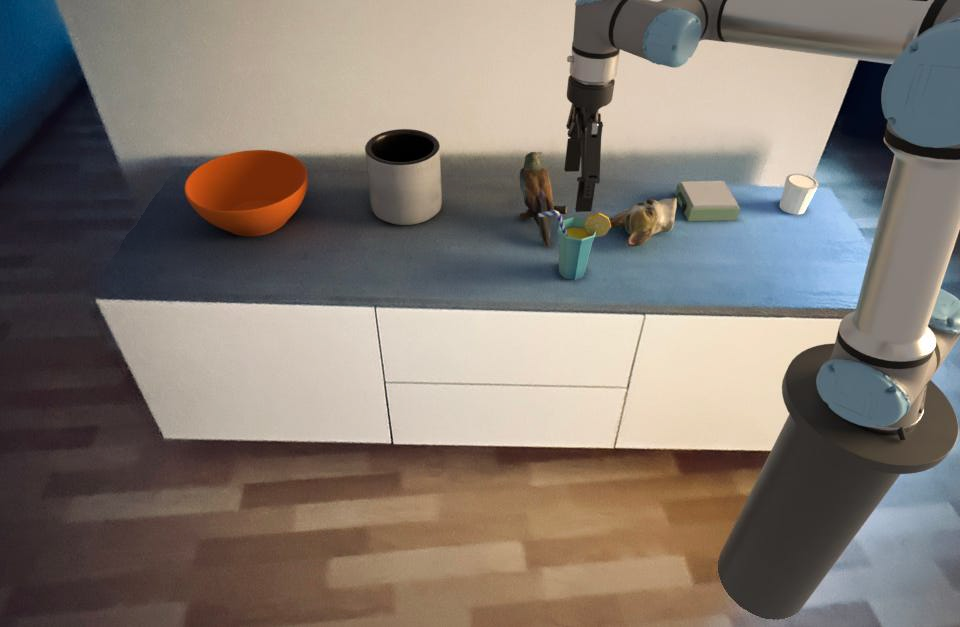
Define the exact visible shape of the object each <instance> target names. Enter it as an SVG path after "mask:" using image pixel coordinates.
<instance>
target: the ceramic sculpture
mask: <svg viewBox="0 0 960 627" xmlns="http://www.w3.org/2000/svg"><path fill="white" fill-rule="evenodd" d="M677 204H678V202H677V197H673V198H663V199H660V200H658V201H657V200H655V199H652V198H649V199H646V200H645V201H644V202H638V203H636V204H634V205H631V206H630V207H629V208H628V209H627V210H623V211H621V212H618V213H616V214H615V215H614V216H612V217H611V218H609V221H610V224H611V228H613V229H614V228H615V229H620V228H625V230H626V232H627V233H628V234H629V236H628V238H627V242H626V244H625V246H626V247H639V246H642V245H644V244H645V243H646V242H648V240H649V239H650V238H651V237H652V236H653V235H655V234H657V233H659V232H663V233H669V232H670V231H672V229H673V228H674V226H675V218H676V211H677Z"/></svg>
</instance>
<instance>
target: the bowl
mask: <svg viewBox="0 0 960 627" xmlns="http://www.w3.org/2000/svg"><path fill="white" fill-rule="evenodd" d="M308 186H309V173H308V169H307V167H306V165H305V164H304V163H303V162H302V161H301V160H300V159H298V158H297V157H295V156H293V155H291V154H289V153H285V152H283V151H282V152H281V151H277V150H269V149H252V150H250V149H249V150H242V151H236V152H231V153H227V154H223V155H220V156H217V157H215V158H213V159H211V160H209V161H207V162H204V163H202V164H201V165H199V166H198V167H196V168H195V169H194V170H193V171H192V172H191V173H190V174H189V176H188V177H187V179H186V180H185V184H184V195H185V197H186V199H187V201H188V203H189V204H190V206H191V207H192V209H193V210H194V211H195V212H196V213H197V214H198V216H201V217H202V218H203V220H206V221H207V222H208V223H210V224H211V225H213V226H214V227H215V226H216V227H217V228H219V229H221V230H224V231H226V232H230V233H231V234H233V235H235V236H236V235H237V236H240V237H258V236H259V237H260V236H264V235H268V234H271V233H273V232H276V231H278V230H279V229H281V227H283V226H284V225H285V224H286V223H287V222H288V220H290V219H291V217H292V216H293V215H294V214H295V213H296V212H297V210H298V209H299V208H300V206H301V204H302V203H303V200H304V199H305V196H306V193H307V190H308Z"/></svg>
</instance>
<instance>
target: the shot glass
mask: <svg viewBox="0 0 960 627" xmlns="http://www.w3.org/2000/svg"><path fill="white" fill-rule="evenodd" d="M818 187H819V182H818V180H816V179H815V178H814V177H812V176H810V175H808V174H803V173H791V174H788V175H787V176H786V178H785V181H784V186H783V190H782V193H781V197H780V202H779V208H780V209H781V210H782V211H783V212H785V213H786V214H790V215H802V214H805V212H806V210H807V208H808V206H809V204H810V203H811V201H812V199H813V197H814V195H815V193H816V192H817V189H818Z"/></svg>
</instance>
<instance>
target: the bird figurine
mask: <svg viewBox="0 0 960 627" xmlns="http://www.w3.org/2000/svg"><path fill="white" fill-rule="evenodd" d="M542 154H543V152H541V151H538V152H537V151H531V152H529V153H527V154H526V155H525V157H524V162H523V167H522V168H521V169H520V171H519V187H520V190H521V195H522V197H523V202H524V205H525V206H526V208H527V210H526V211H525V212H520V213H519V219H520V220H527V219H531V218H533V220H534V221H535V223H536V224H537V226H538V229H539V236H540V238H541V240H542V243H543V245H544V246H545V247H548V248H549V247H550V246H551V228H550V218H551V215H550V216H545V217H540V218H539V215H538V213H542V212H547V211H551V210H556V211H558V212H559V213H560V214H561V215H567V210H568V206H567V205H554V197H553V189H552V184H551V180H550V175H549V172H548V170H547V169H546V167H545V166H542V164H541V163H540V160H541V157H540V156H541V155H542Z"/></svg>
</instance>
